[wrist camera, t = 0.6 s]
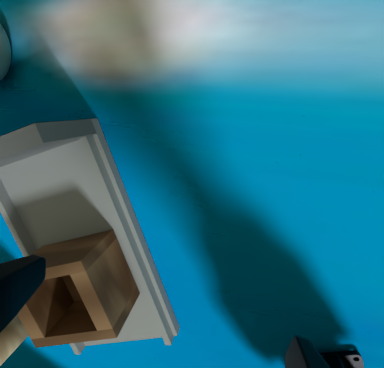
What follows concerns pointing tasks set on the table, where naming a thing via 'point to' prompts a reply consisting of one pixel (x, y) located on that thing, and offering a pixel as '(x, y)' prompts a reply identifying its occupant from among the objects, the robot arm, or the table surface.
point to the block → (81, 292)
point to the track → (79, 210)
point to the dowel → (11, 338)
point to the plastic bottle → (4, 53)
